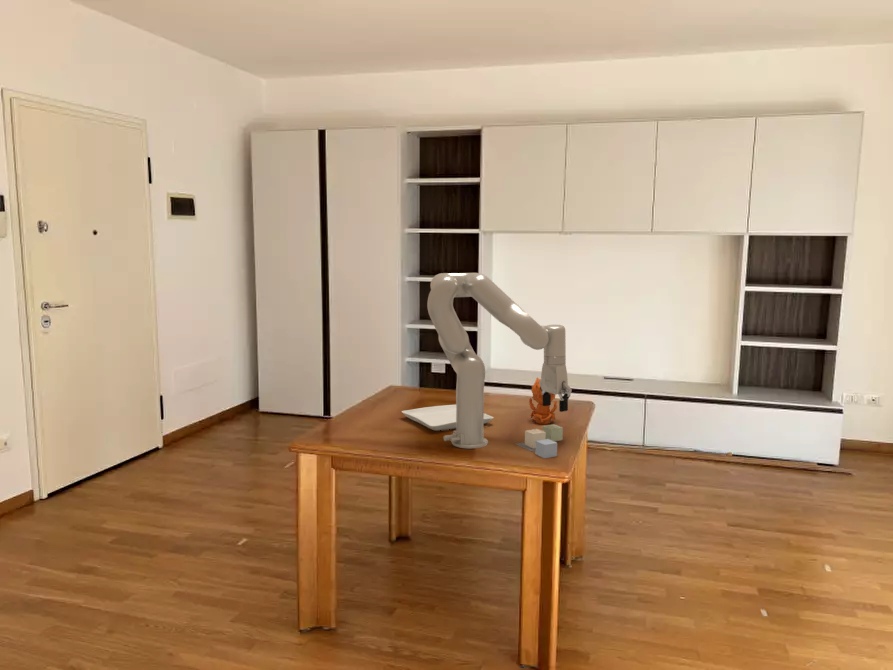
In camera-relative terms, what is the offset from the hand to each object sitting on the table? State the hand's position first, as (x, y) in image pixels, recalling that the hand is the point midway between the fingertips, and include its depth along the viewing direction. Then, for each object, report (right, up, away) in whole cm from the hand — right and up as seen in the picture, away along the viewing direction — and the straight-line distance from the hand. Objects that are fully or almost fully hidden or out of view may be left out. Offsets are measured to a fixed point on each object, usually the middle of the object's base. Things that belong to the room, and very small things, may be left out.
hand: (555, 408), depth 245 cm
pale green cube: (-1, -12, +1) cm, 12 cm away
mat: (-8, -13, -6) cm, 16 cm away
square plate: (-38, -9, +27) cm, 47 cm away
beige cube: (-8, -12, -6) cm, 16 cm away
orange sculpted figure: (0, -8, +26) cm, 28 cm away
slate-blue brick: (-6, -14, -17) cm, 23 cm away
